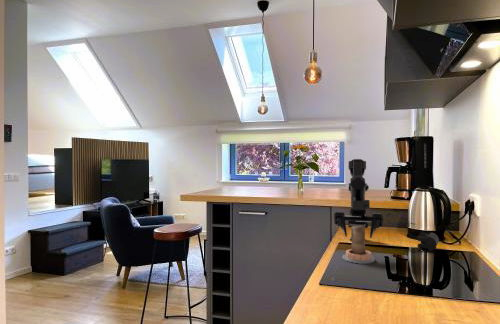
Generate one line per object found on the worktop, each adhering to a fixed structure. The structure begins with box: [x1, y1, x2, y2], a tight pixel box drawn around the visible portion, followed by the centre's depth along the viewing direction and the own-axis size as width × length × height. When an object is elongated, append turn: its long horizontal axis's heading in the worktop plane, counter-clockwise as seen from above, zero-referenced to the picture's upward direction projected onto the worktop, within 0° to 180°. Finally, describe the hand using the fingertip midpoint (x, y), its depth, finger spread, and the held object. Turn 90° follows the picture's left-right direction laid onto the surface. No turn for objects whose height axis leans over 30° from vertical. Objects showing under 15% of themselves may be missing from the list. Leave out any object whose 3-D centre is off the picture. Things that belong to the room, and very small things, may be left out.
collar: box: [342, 248, 375, 265], centre depth 137 cm, size 12×12×3 cm
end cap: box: [417, 232, 440, 253], centre depth 151 cm, size 10×7×7 cm
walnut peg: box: [351, 225, 366, 255], centre depth 137 cm, size 5×5×12 cm
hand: (358, 237), depth 136 cm, fingers open, 9 cm apart
